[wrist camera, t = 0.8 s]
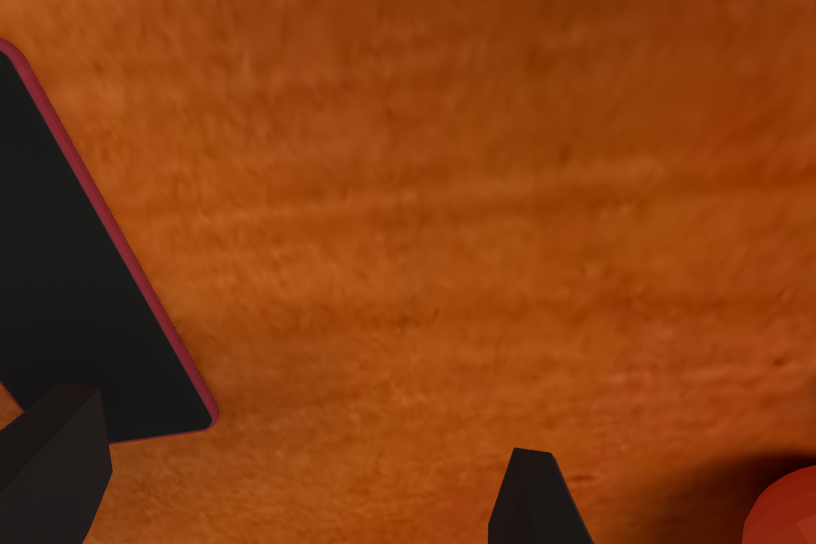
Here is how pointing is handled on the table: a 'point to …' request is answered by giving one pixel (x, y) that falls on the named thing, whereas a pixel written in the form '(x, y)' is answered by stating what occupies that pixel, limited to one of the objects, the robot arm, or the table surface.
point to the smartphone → (79, 283)
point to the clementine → (784, 511)
